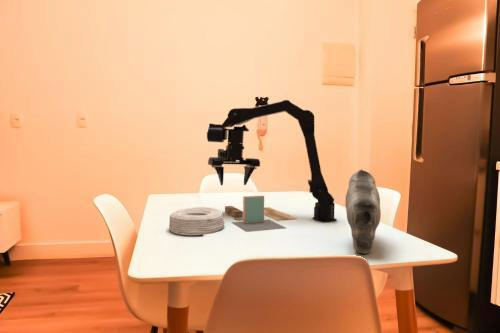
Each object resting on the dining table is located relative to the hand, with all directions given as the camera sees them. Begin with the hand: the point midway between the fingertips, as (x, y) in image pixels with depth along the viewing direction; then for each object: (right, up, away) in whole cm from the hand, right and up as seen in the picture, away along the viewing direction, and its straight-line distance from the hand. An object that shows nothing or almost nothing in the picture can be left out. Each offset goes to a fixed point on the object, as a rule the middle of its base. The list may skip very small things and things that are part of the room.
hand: (233, 185), depth 135 cm
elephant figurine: (+37, -15, -34) cm, 53 cm away
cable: (-11, -14, -20) cm, 26 cm away
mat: (+9, -13, -16) cm, 22 cm away
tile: (+7, -12, -12) cm, 19 cm away
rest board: (+15, -12, +4) cm, 19 cm away
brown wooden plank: (+1, -12, -1) cm, 12 cm away
